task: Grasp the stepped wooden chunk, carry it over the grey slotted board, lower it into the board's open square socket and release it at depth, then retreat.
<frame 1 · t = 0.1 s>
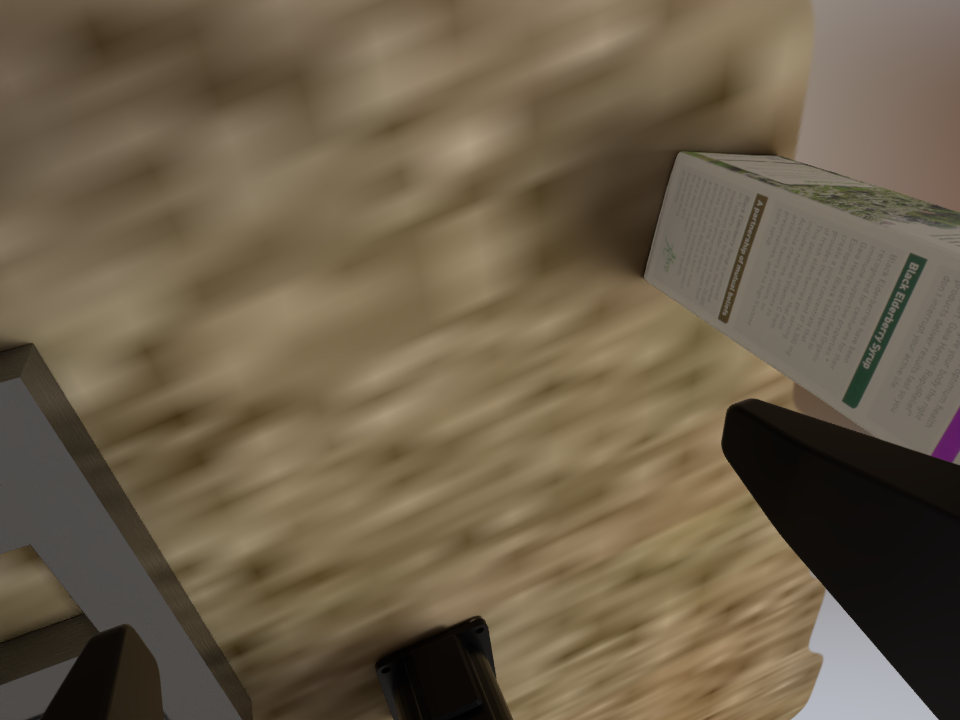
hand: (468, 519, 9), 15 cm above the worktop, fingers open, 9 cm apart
syrup box: (707, 214, 27), on the worktop
grey slotted board: (21, 617, 24), on the worktop
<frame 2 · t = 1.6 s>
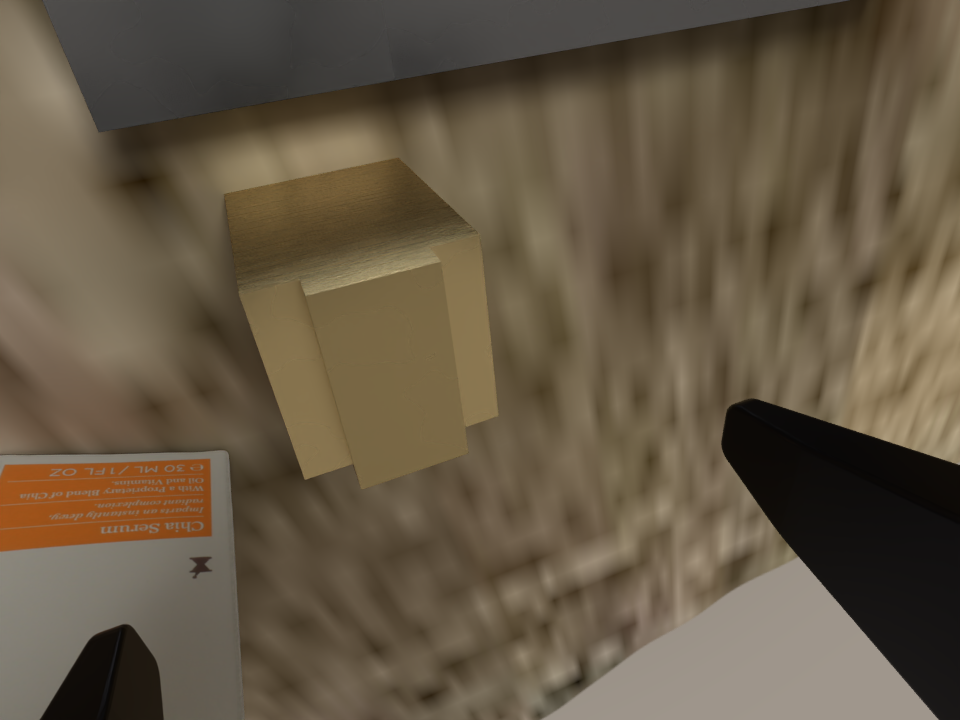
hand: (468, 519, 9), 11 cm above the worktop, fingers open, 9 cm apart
stepped wooden chunk: (334, 254, 17), on the worktop
skincare box: (117, 497, 19), on the worktop
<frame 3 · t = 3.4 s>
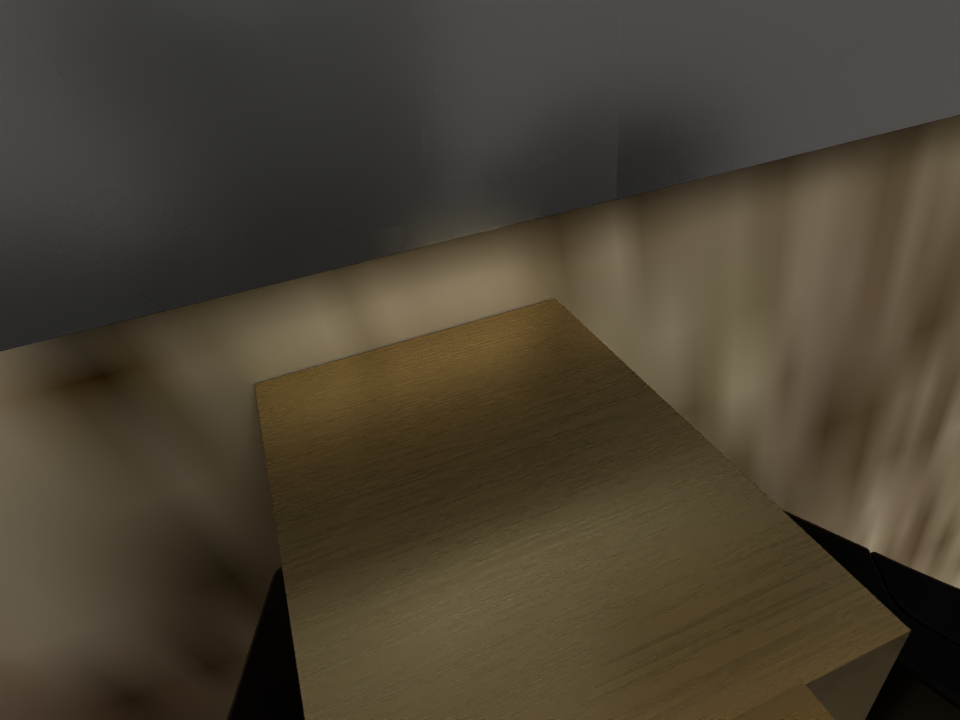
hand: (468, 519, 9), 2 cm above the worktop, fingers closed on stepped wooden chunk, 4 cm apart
stepped wooden chunk: (435, 453, 10), on the worktop, touching gripper
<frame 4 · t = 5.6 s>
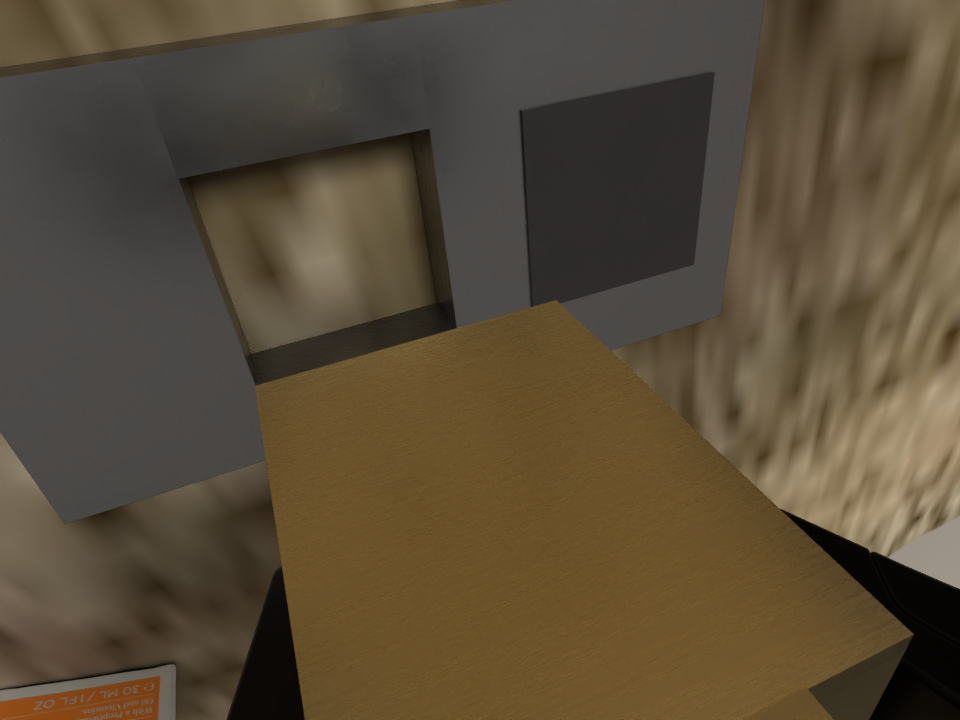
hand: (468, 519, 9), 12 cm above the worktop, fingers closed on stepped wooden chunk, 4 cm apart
stepped wooden chunk: (435, 455, 10), point 10 cm above the worktop, touching gripper
grey slotted board: (391, 224, 19), on the worktop
skincare box: (88, 702, 24), on the worktop
when the fingers open (3 cm above the worktop, at t = 7.9 s): stepped wooden chunk drops 2 cm, resting in grey slotted board.
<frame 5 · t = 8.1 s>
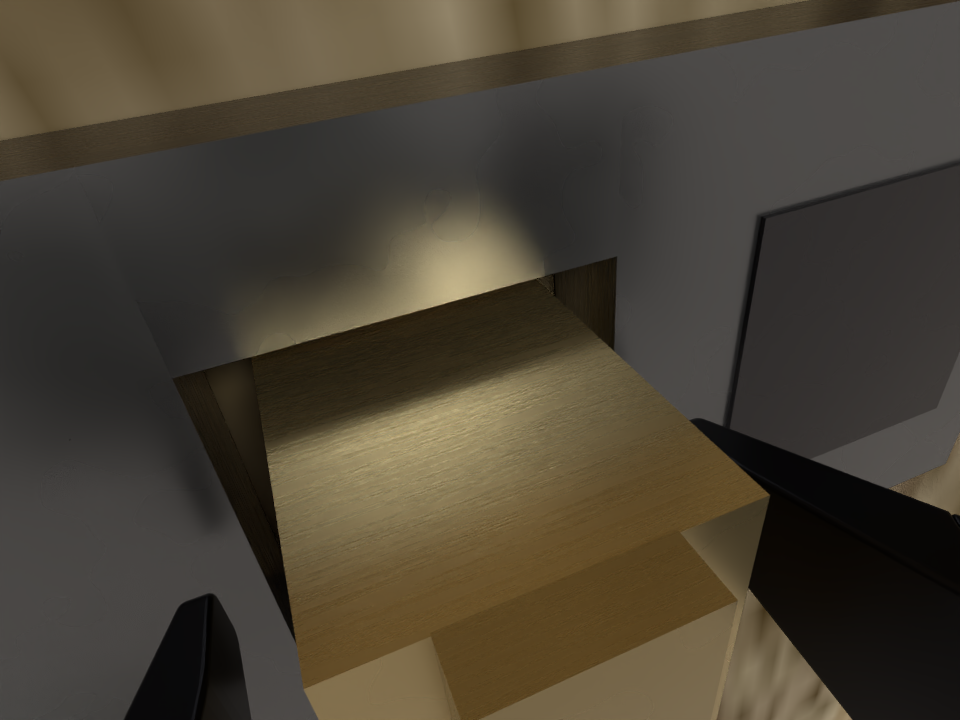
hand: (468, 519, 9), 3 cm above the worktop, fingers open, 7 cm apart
stepped wooden chunk: (410, 401, 11), resting in grey slotted board
grey slotted board: (510, 373, 12), on the worktop
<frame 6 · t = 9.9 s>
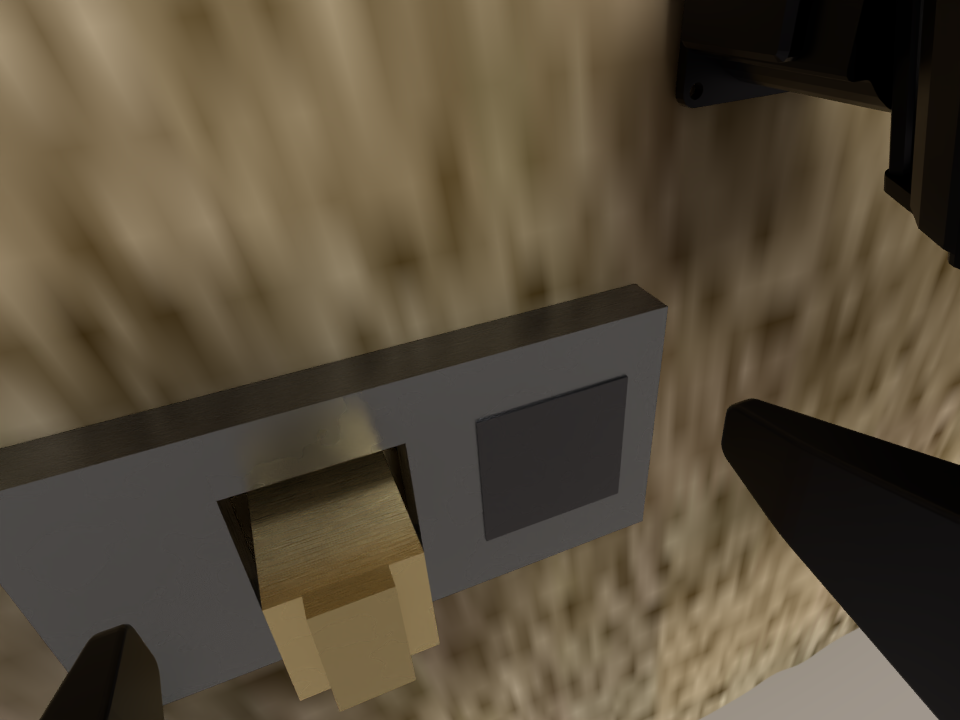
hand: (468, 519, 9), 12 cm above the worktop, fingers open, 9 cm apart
stepped wooden chunk: (323, 494, 23), resting in grey slotted board
grey slotted board: (375, 479, 24), on the worktop
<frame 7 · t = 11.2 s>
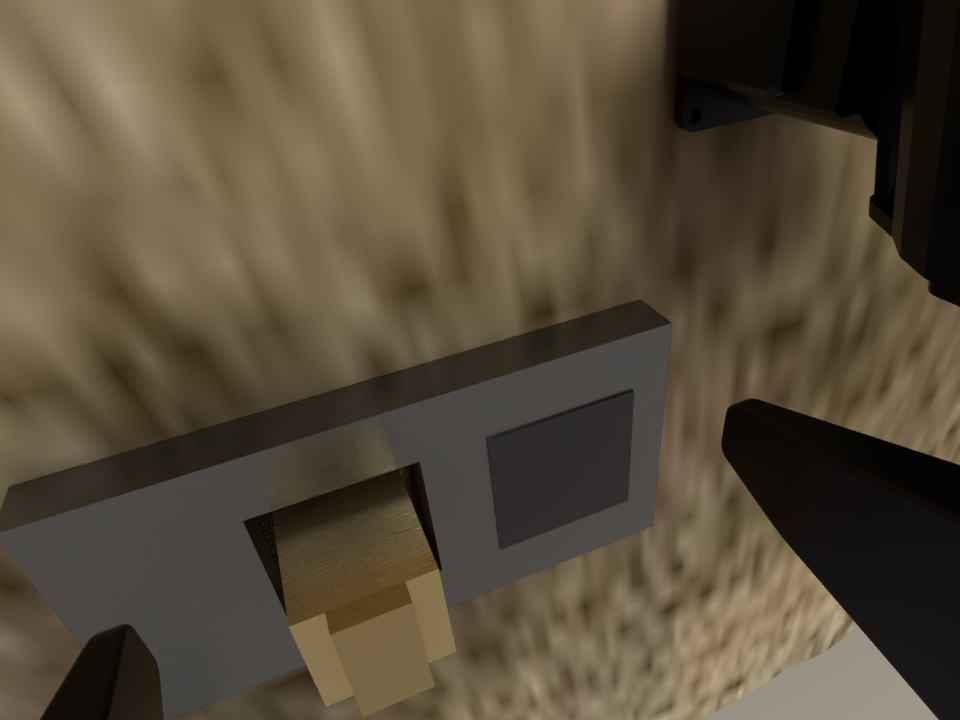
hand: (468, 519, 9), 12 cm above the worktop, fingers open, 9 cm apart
stepped wooden chunk: (343, 508, 24), resting in grey slotted board
grey slotted board: (392, 492, 25), on the worktop
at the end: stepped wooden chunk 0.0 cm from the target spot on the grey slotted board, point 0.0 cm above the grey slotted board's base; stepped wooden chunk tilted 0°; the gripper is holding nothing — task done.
